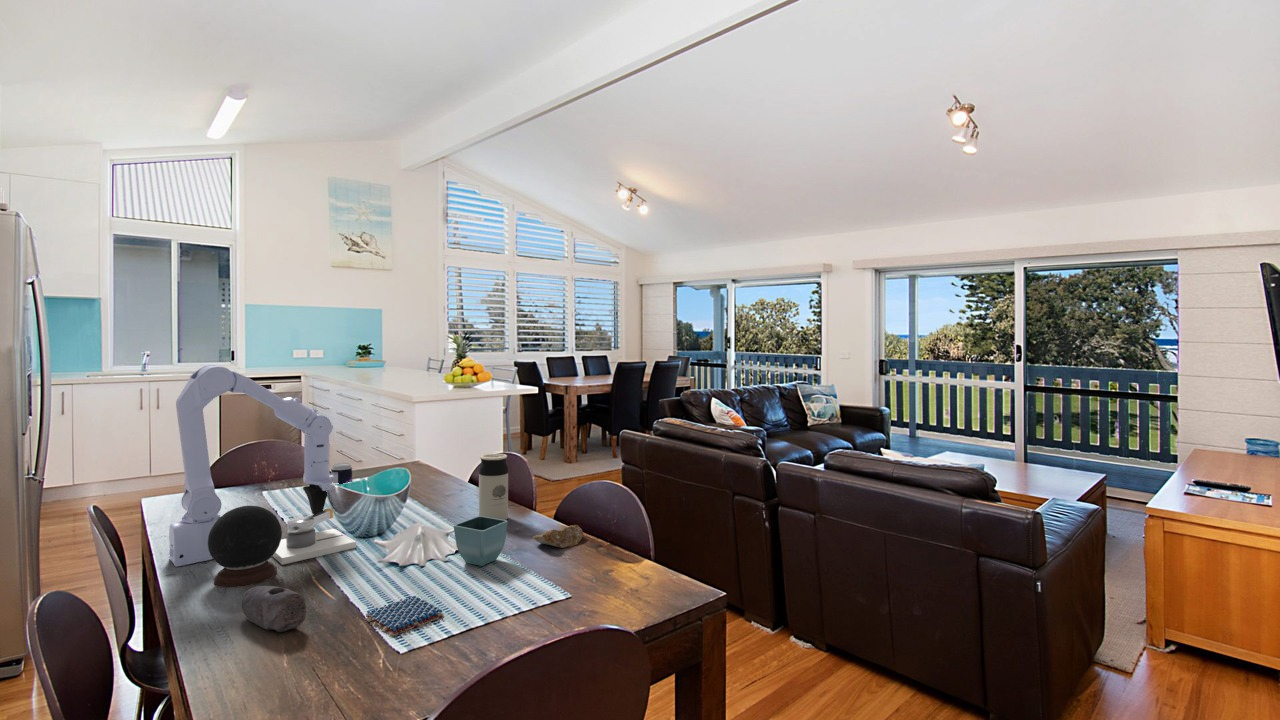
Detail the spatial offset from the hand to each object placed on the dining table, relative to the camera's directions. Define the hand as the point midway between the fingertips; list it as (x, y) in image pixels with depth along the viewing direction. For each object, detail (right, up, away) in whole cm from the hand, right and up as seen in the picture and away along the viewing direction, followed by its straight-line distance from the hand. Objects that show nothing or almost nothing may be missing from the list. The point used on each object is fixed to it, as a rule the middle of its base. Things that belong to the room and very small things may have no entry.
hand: (317, 513), depth 158 cm
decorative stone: (+63, -7, -4) cm, 63 cm away
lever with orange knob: (+3, -1, -8) cm, 9 cm away
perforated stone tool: (+18, -8, -49) cm, 53 cm away
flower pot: (+47, -7, -18) cm, 51 cm away
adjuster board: (+4, -6, -10) cm, 13 cm away
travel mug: (+42, -6, +15) cm, 45 cm away
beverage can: (-8, -5, +29) cm, 31 cm away
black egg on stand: (0, -7, -28) cm, 29 cm away
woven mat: (+40, -8, -46) cm, 62 cm away
